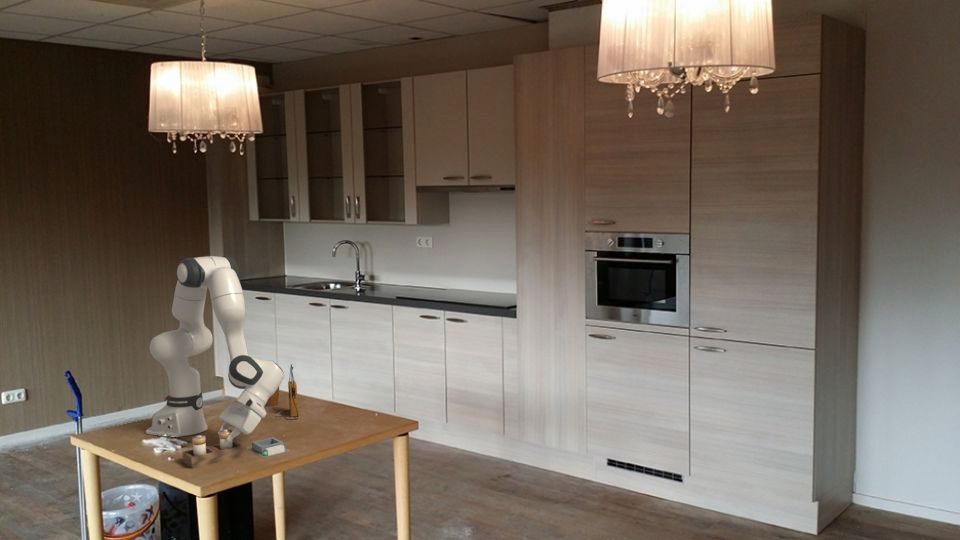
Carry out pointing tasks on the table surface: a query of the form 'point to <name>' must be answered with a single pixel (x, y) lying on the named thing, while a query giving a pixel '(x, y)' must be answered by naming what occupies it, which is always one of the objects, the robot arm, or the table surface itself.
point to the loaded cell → (199, 445)
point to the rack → (213, 455)
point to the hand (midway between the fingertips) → (223, 438)
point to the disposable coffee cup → (273, 399)
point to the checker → (268, 447)
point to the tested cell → (223, 441)
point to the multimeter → (292, 397)
